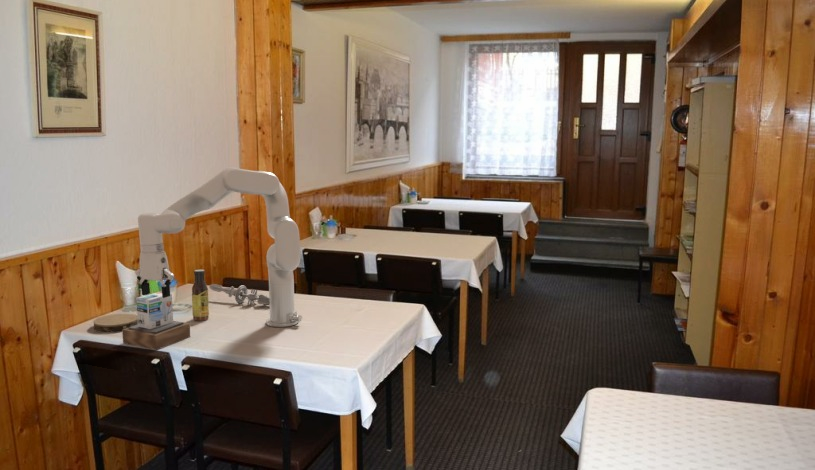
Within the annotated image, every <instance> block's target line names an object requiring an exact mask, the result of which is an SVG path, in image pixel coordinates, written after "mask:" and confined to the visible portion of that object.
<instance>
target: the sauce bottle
mask: <svg viewBox="0 0 815 470" xmlns="http://www.w3.org/2000/svg"><path fill="white" fill-rule="evenodd" d="M193 274H194V283H193V285H192V287H191V305H192V306H191V307H192V316H193V317H192V318H193V320H194V321H196V322H202V321H208V319H209V316H210V306H209V305H210V301H209V300H210V299H209V289H208V288H209V287H208V286H207V285H208V284H206V280H205V274H206V271H205V269H195V270H194V271H193Z"/></svg>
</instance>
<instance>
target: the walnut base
mask: <svg viewBox="0 0 815 470" xmlns="http://www.w3.org/2000/svg"><path fill="white" fill-rule="evenodd" d="M121 333H122V343H123V344H125V345H131V346H136V347H141V348H147V349H151V350H155V351H156V350H160V349H163V348H164V347H168V346H170V345H172V344H175V343H177V342H180V341H182V340H186V339H188V338H190V337H191V327H190V323H188V322H184V321H177V320H173V323H170V324H166V325H163V326H160V327H156V328H153V329H146V328H142V327H138V324H137V325H134V326H131V327H129V328H126V329H123V330H122V331H121Z"/></svg>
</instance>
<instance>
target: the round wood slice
mask: <svg viewBox="0 0 815 470" xmlns="http://www.w3.org/2000/svg"><path fill="white" fill-rule="evenodd" d="M137 324H138V317H137V314H132V313H114V314H113V313H112V314H109V315H103V316H100V317H98V318H96V319H94V320H93V330H94V331H96V332H99V333H117V332H118V333H119V332H122V330H123V329H126V328H129V327H131V326H134V325H137Z"/></svg>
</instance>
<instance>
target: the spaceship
mask: <svg viewBox="0 0 815 470" xmlns="http://www.w3.org/2000/svg"><path fill="white" fill-rule="evenodd" d="M208 288H209V289H210V290H211V291H214V292H217V293H220V292H223V293H225V294H226V295H228V298H232V296H233V297H234V300H235V301H236V303H237V304H241V303H243V302H245V300H247V305H250V306H254V304H255V302H257V304H258V305H263V306H270V304H269V295H264V294H262V293H261V294H257V293H258V289H256V288H255V289H253V288H251V290H250V292H248V287H247V286H246V285H239V286H238V287H237V288H235V286H233V285H232V286H230V287H223V286H222V285H220V284H217V283H211V284H209V287H208Z"/></svg>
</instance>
